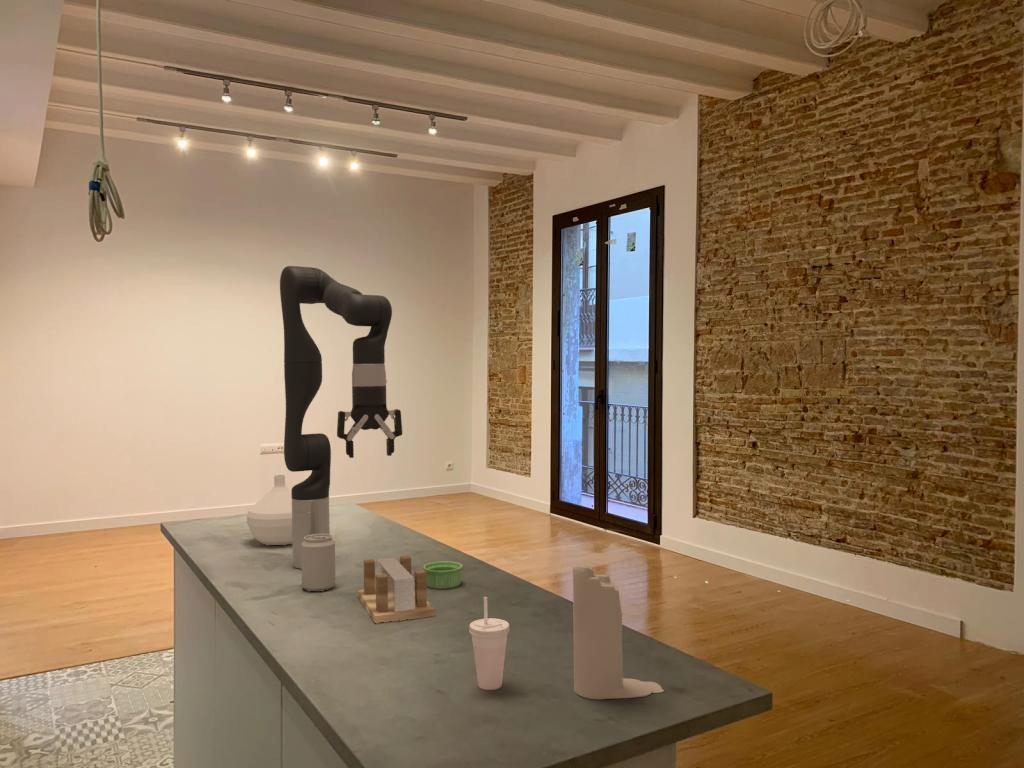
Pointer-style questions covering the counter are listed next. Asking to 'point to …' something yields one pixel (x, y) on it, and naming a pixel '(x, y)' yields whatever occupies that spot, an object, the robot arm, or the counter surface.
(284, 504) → the vase
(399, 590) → the pale beige plank
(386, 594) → the rack
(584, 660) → the candle
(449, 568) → the ramekin
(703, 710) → the counter surface
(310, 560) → the can
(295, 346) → the robot arm
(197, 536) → the counter surface
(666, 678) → the counter surface
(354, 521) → the counter surface
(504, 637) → the smoothie
